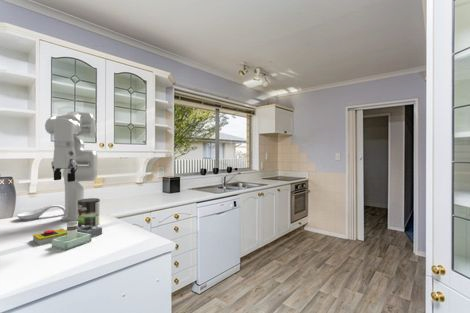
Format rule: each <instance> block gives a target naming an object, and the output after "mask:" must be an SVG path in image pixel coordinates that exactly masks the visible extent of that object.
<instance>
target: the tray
mask: <svg viewBox="0 0 470 313" xmlns="http://www.w3.org/2000/svg"><path fill="white" fill-rule="evenodd" d="M90 242H92V237H91V234H86V233H81V232H77V239H74V240H71V241H68V242H67V235H66V236H62V237H59V238H56V239H52V242H51V248H56V249H60V250H64V251H67V250H71V249H73V248H76V247H78V246H82V245H85V244H87V243H90Z"/></svg>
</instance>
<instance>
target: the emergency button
mask: <svg viewBox="0 0 470 313" xmlns="http://www.w3.org/2000/svg"><path fill="white" fill-rule="evenodd" d="M66 235H67V229H64V228H58V229H49V230H45V231H44V232H43V231H42V232H39V233H35V234H33V235H32V240H29V241H28V242H29V244H31V245H32V246H33V247H38V246H43V245H46V244H52V239H56V238H59V237H62V236H66Z"/></svg>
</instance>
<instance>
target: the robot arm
mask: <svg viewBox="0 0 470 313" xmlns="http://www.w3.org/2000/svg"><path fill="white" fill-rule="evenodd" d="M96 126H97V125H96V121H95V117H94V115H93V114H92V113H91V112H84V111H70V112H68V113H66V114H63V115H57V116H54V115H53V116H50V117H49V118H47V120H46V121H45V123H44V129H45V131H46V133H48V134H50V135H53V145H54V146H53V149H54V150H53V158H52V159H53V160H52V161H51V162H50V164H51V169H52V172H53V180H54V181H60V180H62V176H63V181H64V182H63V183H64V208H65V215H64V216H62V217H61V220H62V221H64V222H65V221H66V222H68V221H78V200H81V199H85V189H84V187H83V185H82V184H81V183H80V182H94V181H95V180H97V178H98V153H97V152H96V150H92V149H85V142H84V141H83V140H82V139H81V138H80V137H93V136H95V135H96V131H97V128H96ZM78 136H79V137H78ZM61 170H62V171H61Z"/></svg>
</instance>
